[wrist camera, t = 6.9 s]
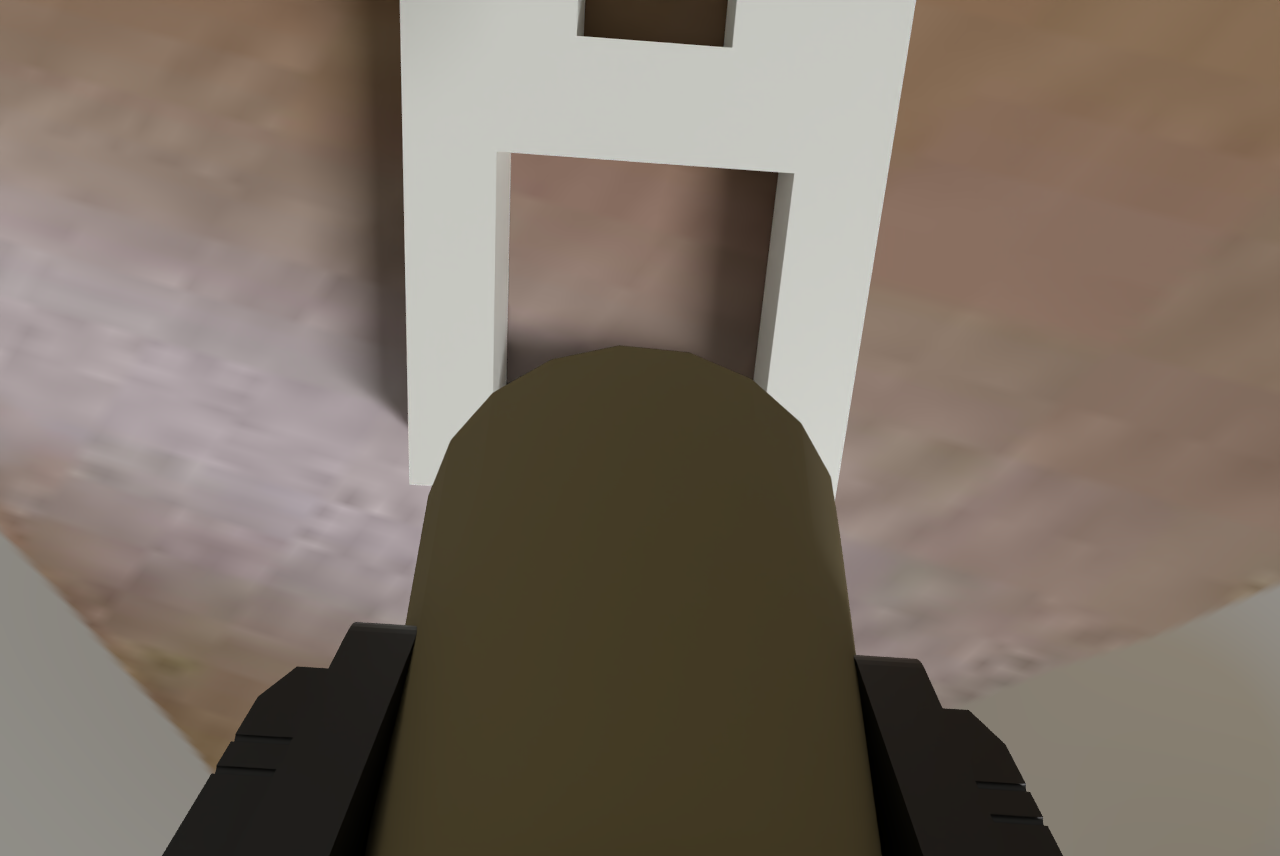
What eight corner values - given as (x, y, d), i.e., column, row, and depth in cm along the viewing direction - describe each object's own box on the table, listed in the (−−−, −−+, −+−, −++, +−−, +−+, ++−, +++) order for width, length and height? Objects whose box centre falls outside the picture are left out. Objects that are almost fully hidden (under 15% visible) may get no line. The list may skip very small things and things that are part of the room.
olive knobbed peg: (338, 516, 14) (-548, 1872, 4) (665, 253, 12) (771, 1245, 2) (606, 775, 15) (534, 2192, 5) (920, 570, 14) (1664, 1963, 4)
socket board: (923, -228, 25) (958, -264, 22) (816, 472, 32) (832, 512, 29) (422, -270, 24) (393, -311, 22) (430, 446, 32) (409, 484, 29)
